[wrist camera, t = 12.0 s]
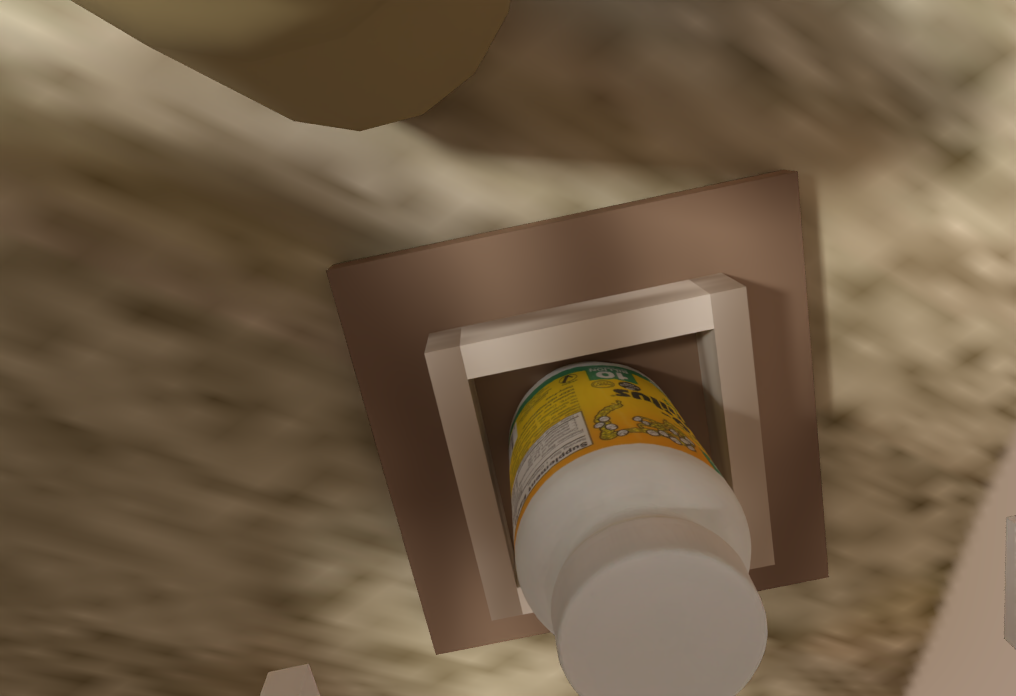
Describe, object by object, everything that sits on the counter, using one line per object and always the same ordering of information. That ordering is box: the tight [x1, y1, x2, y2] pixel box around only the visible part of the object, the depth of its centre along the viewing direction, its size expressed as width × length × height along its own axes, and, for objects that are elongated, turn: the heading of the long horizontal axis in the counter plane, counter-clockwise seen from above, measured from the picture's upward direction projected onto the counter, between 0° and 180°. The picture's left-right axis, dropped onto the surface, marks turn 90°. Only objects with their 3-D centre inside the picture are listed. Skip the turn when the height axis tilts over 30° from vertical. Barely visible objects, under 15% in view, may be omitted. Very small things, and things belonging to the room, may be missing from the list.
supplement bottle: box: [508, 361, 768, 696], centre depth 18 cm, size 5×5×10 cm
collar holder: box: [326, 170, 829, 655], centre depth 22 cm, size 14×14×3 cm
